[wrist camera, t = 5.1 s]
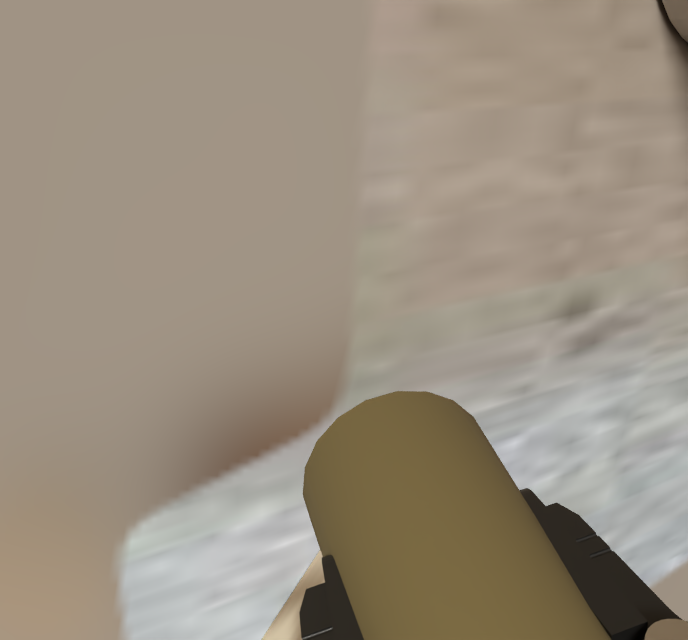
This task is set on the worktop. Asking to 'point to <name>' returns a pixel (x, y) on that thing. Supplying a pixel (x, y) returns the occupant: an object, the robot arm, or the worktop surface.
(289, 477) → the worktop surface
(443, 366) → the worktop surface
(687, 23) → the robot arm
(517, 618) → the olive brown ball-ended cylinder
